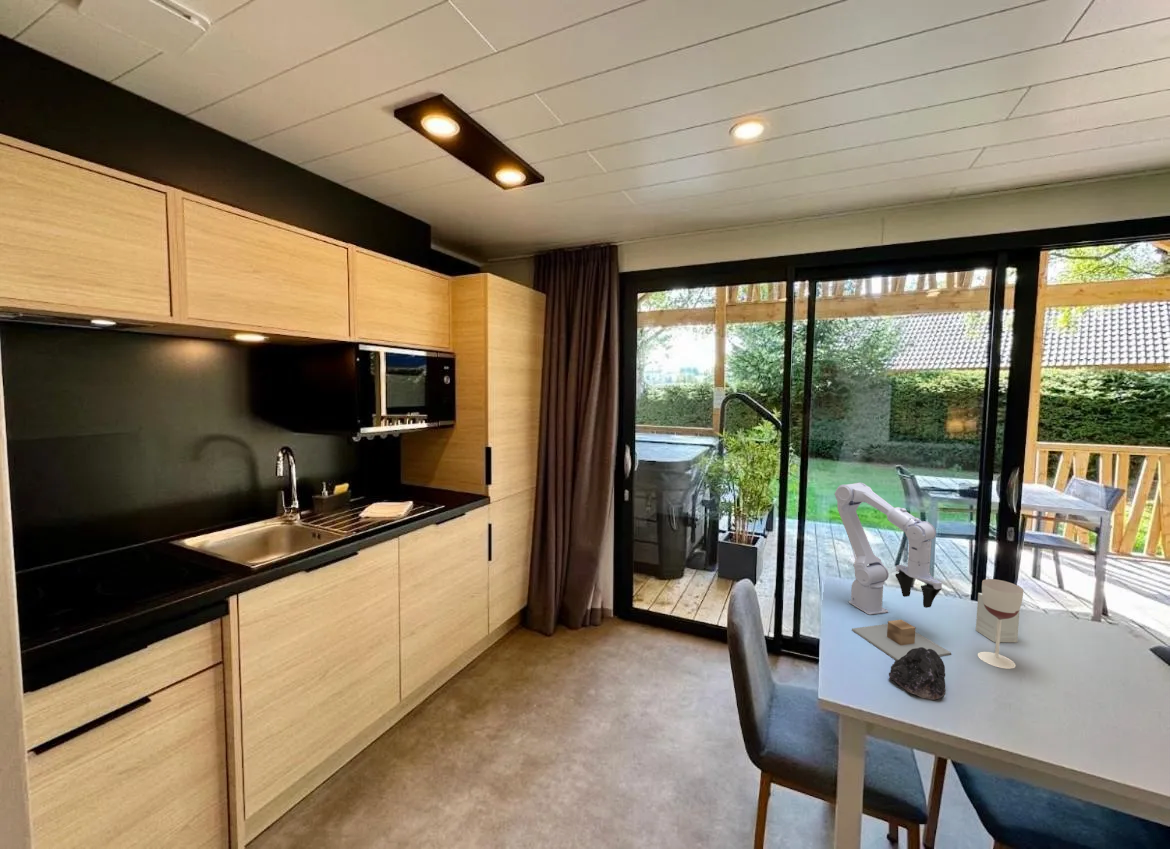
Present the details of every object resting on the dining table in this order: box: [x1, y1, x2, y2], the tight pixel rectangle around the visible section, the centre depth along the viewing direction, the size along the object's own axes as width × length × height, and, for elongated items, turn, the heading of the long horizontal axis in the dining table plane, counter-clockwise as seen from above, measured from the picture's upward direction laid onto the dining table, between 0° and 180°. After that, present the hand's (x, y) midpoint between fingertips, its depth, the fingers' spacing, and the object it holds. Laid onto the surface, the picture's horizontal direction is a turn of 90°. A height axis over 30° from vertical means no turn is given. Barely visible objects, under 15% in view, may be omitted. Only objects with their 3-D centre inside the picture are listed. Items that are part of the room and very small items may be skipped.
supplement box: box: [975, 592, 1021, 643], centre depth 149 cm, size 7×7×13 cm
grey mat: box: [851, 623, 952, 661], centre depth 147 cm, size 18×18×1 cm
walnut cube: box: [887, 619, 916, 645], centre depth 147 cm, size 5×5×5 cm
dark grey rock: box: [888, 647, 946, 701], centre depth 126 cm, size 13×14×10 cm
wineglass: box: [977, 578, 1024, 670], centre depth 136 cm, size 9×10×22 cm
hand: (916, 601), depth 153 cm, fingers open, 7 cm apart
